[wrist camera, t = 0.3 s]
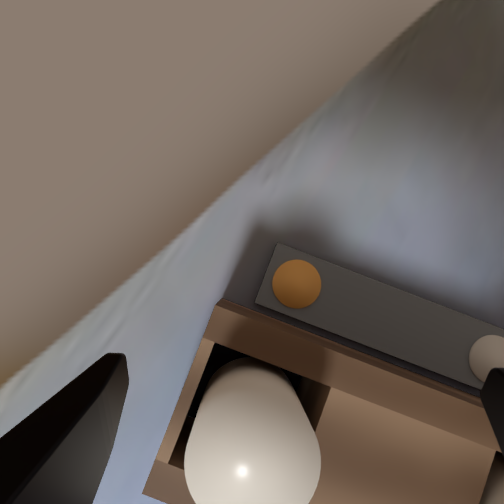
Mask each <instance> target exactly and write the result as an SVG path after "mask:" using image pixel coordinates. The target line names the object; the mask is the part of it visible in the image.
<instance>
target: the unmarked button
mask: <svg viewBox="0 0 504 504" xmlns="http://www.w3.org/2000/svg"><path fill="white" fill-rule="evenodd" d="M479 504H504V457H503V454H502V453H501V452H499V451H496V452H495V455H494V459H493V462H492V465H491V468H490V471H489V474H488V477H487V480H486V484H485V487H484V490H483V493H482V496H481V499H480V502H479Z"/></svg>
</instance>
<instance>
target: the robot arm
mask: <svg viewBox="0 0 504 504" xmlns="http://www.w3.org/2000/svg"><path fill="white" fill-rule="evenodd" d="M128 385H129V376H128V369H127V361H126V356H125V355H124V354H123V353H107V354H105V355H104V356H102V357H101V358H100V359H99V360H97V361H96V362H95V363H94V364H92V365H91V366H90V367H89V368H87V369H86V370H85V371H84V372H82V373H81V374H80V375H79V376H77V377H76V378H75V379H74V380H72V381H71V382H70V383H69V384H67V385H66V386H65V387H64V388H62V389H61V390H60V391H59V392H57V393H56V394H55V395H54V396H52V397H51V398H50V399H49V400H47V401H46V402H45V403H44V404H42V405H41V406H40V407H39V408H37V409H36V410H35V411H34V412H32V413H31V414H30V415H29V416H27V417H26V418H25V419H24V420H22V421H21V422H20V423H19V424H17V425H16V426H15V427H14V428H12V429H11V430H10V431H9V432H7V433H6V434H5V435H4V436H2V437H1V438H0V504H92V503H93V500H94V498H95V495H96V492H97V490H98V487H99V484H100V482H101V479H102V476H103V474H104V471H105V468H106V466H107V463H108V460H109V457H110V454H111V451H112V448H113V445H114V441H115V437H116V433H117V429H118V425H119V421H120V417H121V414H122V410H123V406H124V402H125V398H126V394H127V390H128ZM480 398H481V402H482V405H483V407H484V409H485V412H486V414H487V417H488V419H489V422H490V424H491V427H492V429H493V432H494V434H495V437H496V439H497V442H498V444H499V447H500V449H501V452H502V454H503V457H504V368H497V367H496V368H492V369H491V370H490V371H489V373H488V375H487V378H486V380H485V382H484V384H483V387H482V389H481V393H480Z"/></svg>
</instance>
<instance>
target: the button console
mask: <svg viewBox="0 0 504 504" xmlns="http://www.w3.org/2000/svg"><path fill="white" fill-rule="evenodd" d="M215 343H218V344H221V345H223V346H226V347H228V348H231V349H234V350H236V351H239V352H241V353H244V354H247V355H249V356H252V357H254V358H257V359H260V360H262V361H265V362H267V363H270V364H273V365H275V366H278V367H280V368H283V369H286V370H288V371H291V372H293V373H296V374H299V375H301V376H302V378H301V381H300V383H299V386H298V389H297V392H296V394H297V396H298V399H299V401H300V403H301V405H302V407H303V409H304V411H305V413H306V415H307V418H308V420H309V422H310V424H311V426H312V428H313V430H314V432H315V435H316V437H317V440H318V444H319V448H320V455H321V470H320V477H319V481H318V484H317V488H316V490H315V492H314V495H313V497H312V498H311V500H310V502H309V503H308V504H479V502H480V499H481V496H482V493H483V490H484V487H485V484H486V480H487V477H488V474H489V471H490V468H491V465H492V462H493V459H494V455H495V452H496V451H499V452H501V449H500V447H499V444H498V442H497V439H496V437H495V434H494V432H493V429H492V427H491V424H490V422H489V419H488V417H487V414H486V412H485V409H484V407H483V405H482V402H481V398H480V397H477V396H475V395H472V394H469V393H467V392H464V391H462V390H459V389H456V388H454V387H451V386H449V385H446V384H443V383H441V382H438V381H436V380H433V379H430V378H428V377H425V376H423V375H420V374H417V373H415V372H412V371H410V370H407V369H404V368H402V367H399V366H397V365H394V364H391V363H389V362H386V361H384V360H381V359H378V358H376V357H373V356H371V355H368V354H365V353H363V352H360V351H358V350H355V349H352V348H350V347H347V346H345V345H342V344H339V343H337V342H334V341H332V340H329V339H326V338H324V337H321V336H319V335H316V334H314V333H311V332H308V331H306V330H303V329H301V328H298V327H295V326H293V325H290V324H288V323H285V322H282V321H280V320H277V319H275V318H272V317H269V316H267V315H264V314H262V313H259V312H256V311H254V310H251V309H249V308H246V307H243V306H241V305H238V304H236V303H233V302H230V301H228V300H225V299H223V298H222V299H221V300H220V301H219V302H218V303H217V304H216V305H215V307H214V309H213V312H212V315H211V317H210V320H209V322H208V325H207V327H206V330H205V333H204V335H203V338H202V340H201V343H200V346H199V348H198V351H197V353H196V356H195V358H194V361H193V364H192V366H191V369H190V371H189V374H188V376H187V379H186V382H185V384H184V387H183V389H182V392H181V394H180V397H179V400H178V402H177V405H176V407H175V410H174V412H173V415H172V418H171V420H170V423H169V425H168V428H167V430H166V433H165V436H164V438H163V441H162V443H161V446H160V448H159V451H158V454H157V456H156V459H155V461H154V464H153V466H152V469H151V472H150V474H149V477H148V479H147V482H146V484H145V487H144V490H143V492H142V494H144V495H147V496H149V497H152V498H154V499H157V500H160V501H162V502H165V503H167V504H196V503H195V501H194V500H193V498H192V496H191V494H190V492H189V489H188V486H187V482H186V477H185V470H184V458H185V451H186V446H187V443H188V440H189V436H190V433H191V430H192V427H193V424H194V421H195V418H192V417H190V416H187V414H188V411H189V409H190V406H191V404H192V401H193V398H194V396H195V393H196V391H197V388H198V386H199V383H200V380H201V378H202V375H203V373H204V370H205V367H206V365H207V362H208V360H209V357H210V354H211V352H212V349H213V347H214V344H215ZM501 453H502V452H501Z"/></svg>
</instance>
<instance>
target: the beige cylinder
mask: <svg viewBox="0 0 504 504" xmlns="http://www.w3.org/2000/svg"><path fill="white" fill-rule="evenodd" d="M184 470H185V477H186V482H187V486H188V489H189V492H190V494H191V496H192V498H193V500H194V501H195V503H196V504H308V503H309V502H310V500H311V498H312V497H313V495H314V492H315V490H316V488H317V484H318V481H319V477H320V470H321V455H320V448H319V444H318V440H317V437H316V435H315V432H314V430H313V428H312V426H311V424H310V422H309V420H308V418H307V415H306V413H305V411H304V409H303V407H302V405H301V403H300V401H299V399H298V396H297V394H296V392H295V390H294V388H293V386H292V384H291V382H290V380H289V379H288V377H287V376H286V374H285V373H284V372H283V371H282V370H281V369H280V368H279V367H277V366H275V365H273V364H270V363H267V362H265V361H262V360H260V359H257V358H254V357H245V358H239V359H235V360H233V361H230V362H228V363H226V364H225V365H223V366H222V367H220V368H219V369H218V370H217V371H216V372H215V373H214V374H213V376H212V377H211V378H210V380H209V382H208V383H207V386H206V388H205V391H204V394H203V397H202V400H201V403H200V406H199V409H198V412H197V415H196V418H195V421H194V424H193V427H192V430H191V433H190V436H189V440H188V443H187V446H186V451H185V458H184Z"/></svg>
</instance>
